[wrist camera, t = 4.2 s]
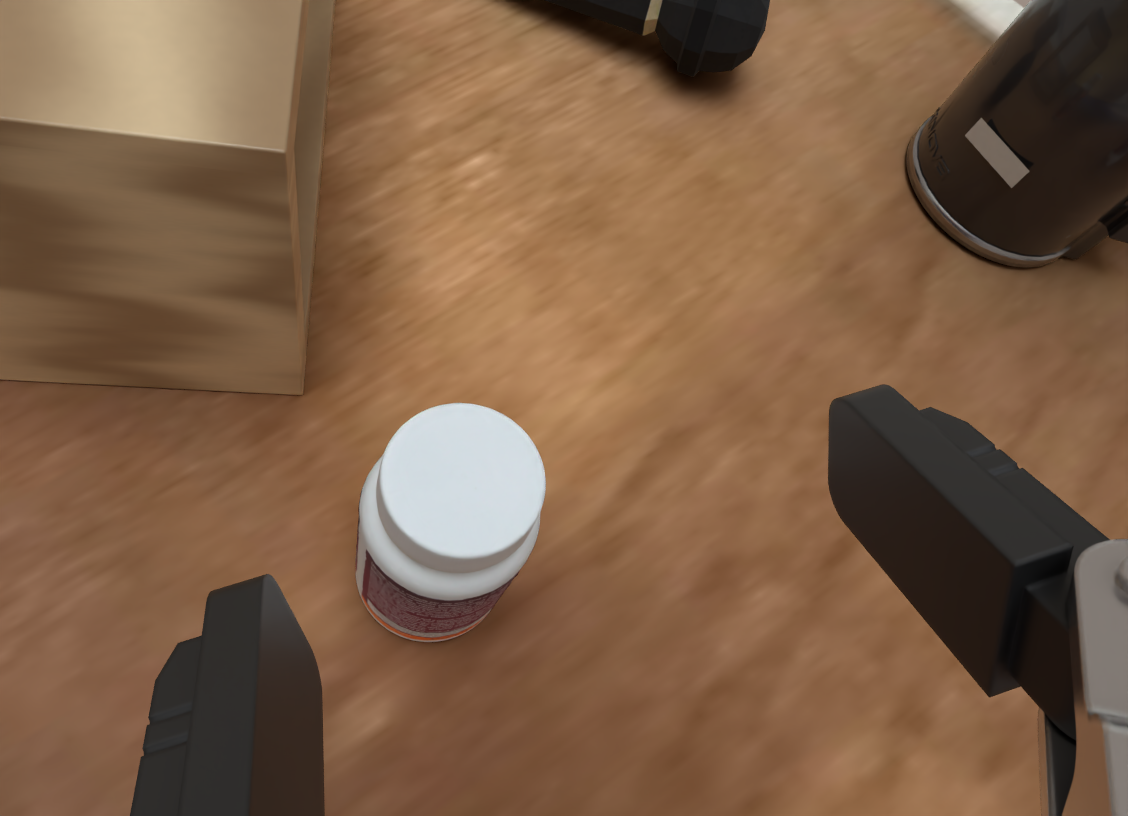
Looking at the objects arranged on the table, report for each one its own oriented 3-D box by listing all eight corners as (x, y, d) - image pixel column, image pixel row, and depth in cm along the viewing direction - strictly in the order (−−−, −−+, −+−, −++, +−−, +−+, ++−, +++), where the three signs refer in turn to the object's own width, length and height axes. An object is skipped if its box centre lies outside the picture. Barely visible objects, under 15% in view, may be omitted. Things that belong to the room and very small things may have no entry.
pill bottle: (523, 614, 27) (592, 538, 20) (380, 666, 26) (399, 603, 18) (473, 483, 29) (521, 368, 22) (336, 524, 27) (337, 414, 20)
